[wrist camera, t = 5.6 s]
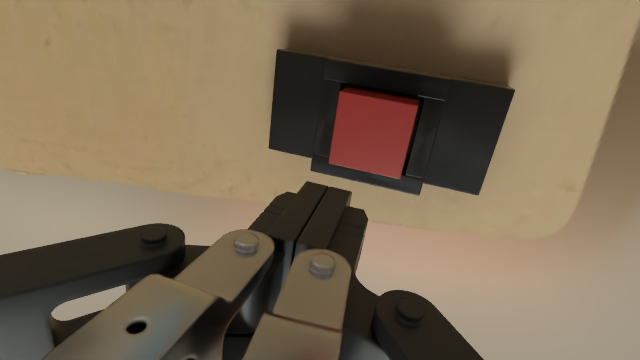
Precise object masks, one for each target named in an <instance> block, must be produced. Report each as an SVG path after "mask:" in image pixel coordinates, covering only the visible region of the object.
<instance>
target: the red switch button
mask: <svg viewBox="0 0 640 360" xmlns="http://www.w3.org/2000/svg"><path fill="white" fill-rule="evenodd" d="M417 109H418V100H417V99H412V98H406V97H401V96H395V95H390V94H384V93H379V92H373V91H368V90H362V89H357V88H351V87H346V88H344V89H343V90H341V91H340V92H339V98H338V105H337V111H336V118H335V124H334V130H333V137H332V143H331V150H330V156H329V163H330V164H334V165H339V166H343V167H347V168H352V169H356V170H361V171H365V172H370V173H374V174H379V175H383V176H388V177H392V178H397V179H400V178H401V174H402V170H403V166H404V162H405V158H406V153H407V149H408V145H409V141H410V137H411V133H412V129H413V125H414V121H415V117H416V113H417Z"/></svg>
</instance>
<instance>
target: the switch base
mask: <svg viewBox="0 0 640 360" xmlns="http://www.w3.org/2000/svg"><path fill="white" fill-rule="evenodd" d="M346 87H351V88H357V89H362V90H368V91H373V92H379V93H384V94H390V95H395V96H401V97H406V98H412V99H417V100H418V109H417V113H416V117H415V121H414V125H413V129H412V133H411V137H410V141H409V145H408V149H407V153H406V158H405V162H404V166H403V170H402V174H401V178H400V179H397V178H392V177H388V176H383V175H379V174H374V173H370V172H365V171H361V170H356V169H352V168H347V167H343V166H339V165H334V164H330V163H329V156H330V150H331V143H332V137H333V130H334V124H335V118H336V111H337V105H338V98H339V92H340V91H341V90H343V89H344V88H346ZM514 92H515V90H514V89H513V88H511V87H509V86H508V85H502V84H496V83H490V82H484V81H478V80H472V79H466V78H461V77H455V76H449V75H443V74H437V73H431V72H425V71H419V70H413V69H407V68H401V67H395V66H389V65H383V64H377V63H371V62H365V61H359V60H353V59H347V58H341V57H335V56H329V55H323V54H317V53H311V52H305V51H299V50H293V49H278V50H277V54H276V66H275V78H274V90H273V102H272V114H271V126H270V138H269V149H273V150H278V151H282V152H287V153H291V154H296V155H300V156H305V157H309V158H312V163H311V171H314V172H318V173H323V174H327V175H332V176H336V177H340V178H345V179H349V180H353V181H358V182H362V183H366V184H371V185H375V186H379V187H384V188H388V189H392V190H397V191H401V192H405V193H410V194H414V195H420V191H421V188H422V184H423V183H425V184H430V185H434V186H439V187H443V188H448V189H452V190H457V191H461V192H466V193H470V194H474V195H479V192H480V190H481V187H482V184H483V181H484V178H485V175H486V172H487V169H488V167H489V164H490V161H491V158H492V155H493V152H494V149H495V146H496V144H497V141H498V138H499V135H500V132H501V129H502V126H503V124H504V121H505V118H506V115H507V112H508V109H509V106H510V103H511V101H512V98H513V95H514Z"/></svg>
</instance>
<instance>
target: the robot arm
mask: <svg viewBox="0 0 640 360" xmlns="http://www.w3.org/2000/svg"><path fill="white" fill-rule="evenodd" d="M351 195H352V192H351V191H346V190H342V189H338V188H334V187H328V186H325V185H321V184H316V183H312V182H308V181H307V182H306V183H305V184H304V185H303V186H302V188H301V189H300V190H299V192H298V193H297V194H296V193H292V192H286V193H284V194H281V195H279V196H277V197H275V199H274V200H273V201H272V202H271V203H270V205H269V206H268V207H267V208H266V209H265V210H264V212H262V213H261V214H260V216H259V217H258V218H257V219H256V220H255V221H254V222H253V224H252V225H251V226H250V227H249V228H248V229H244V230H236V231H232V232H229V233H227V234H225V235H223V236H222V237H221V238H220V239H219V240H217V241H216V242H215V243H214V244H213V245H212V246H197V245H185V234H184V232H183V231H182V230H181V229H179V228H178V227H176V226H173V225H169V224H162V223H159V224H158V223H156V224H148V225H142V226H138V227H133V228H128V229H123V230H119V231H114V232H109V233H104V234H99V235H95V236H90V237H86V238H80V239H75V240H71V241H66V242H61V243H57V244H52V245H47V246H42V247H37V248H33V249H28V250H23V251H18V252H13V253H9V254H4V255H0V360H483V358H482V357H481V356H480V355H479V354H478V353H477V352H476V351H475V350H474V349H473V347H472V346H471V345H470V344H469V343H468V342H467V341H466V340H465V339H464V338H463V337H462V335H461V334H460V333H459V332H458V331H457V330H456V329H455V328H454V327H453V326H452V325H451V323H450V322H449V321H447V319H446V318H445V317H444V316H443V315H442V314H441V313H440V312H439V310H437V308H436V307H435V306H434V305H433V304H432V303H431V302H429V301H428V300H426V299H425V298H423V297H422V296H420V295H418V294H415V293H412V292H409V291H403V290H393V291H388V292H386V293H384V294H382V295H381V296H377V295H376V294H374V293H372V292H371V291H369V290H368V289H366V288H365V287H364V286H363V285H362V284H361V283H360V282H359V281H358V279H357V278H356V275H355V273H356V269H357V266H358V262H359V259H360V254H361V250H362V245H363V240H364V236H365V231H366V227H367V222H368V218H367V216H366V214H365V211H364V210H362V209H358V208H354V207H350V201H351ZM121 285H126V293H124V294H123V295H122V296H121V297H120V298H118V299H117V300H116V301H114V302H113V303H112V304H110V305H109V306H108V307H107V308H106V309H103V310H100V311H97V312H94V313H91V314H88V315H85V316H81V317H78V318H75V319H72V320H68V321H59V320H56V319H54V318H53V317H52V315H51V312H52V311H53V310H54V308H56V307H57V306H59V305H60V304H62V303H64V302H67V301H70V300H73V299H77V298H80V297H84V296H87V295H91V294H94V293H98V292H101V291H104V290H108V289H111V288H114V287H118V286H121Z"/></svg>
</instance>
